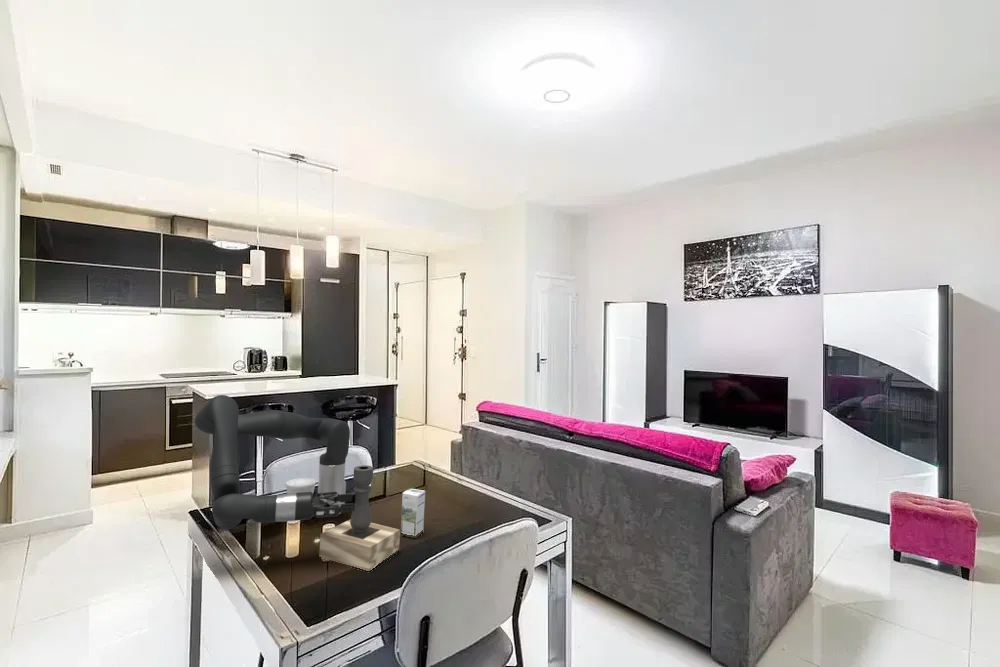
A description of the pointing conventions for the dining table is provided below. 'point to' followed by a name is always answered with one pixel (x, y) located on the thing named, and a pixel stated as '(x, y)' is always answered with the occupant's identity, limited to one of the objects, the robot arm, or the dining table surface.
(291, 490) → the ramekin
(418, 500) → the syrup box
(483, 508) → the dining table surface
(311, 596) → the dining table surface
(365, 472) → the candle holder
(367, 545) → the socket block
